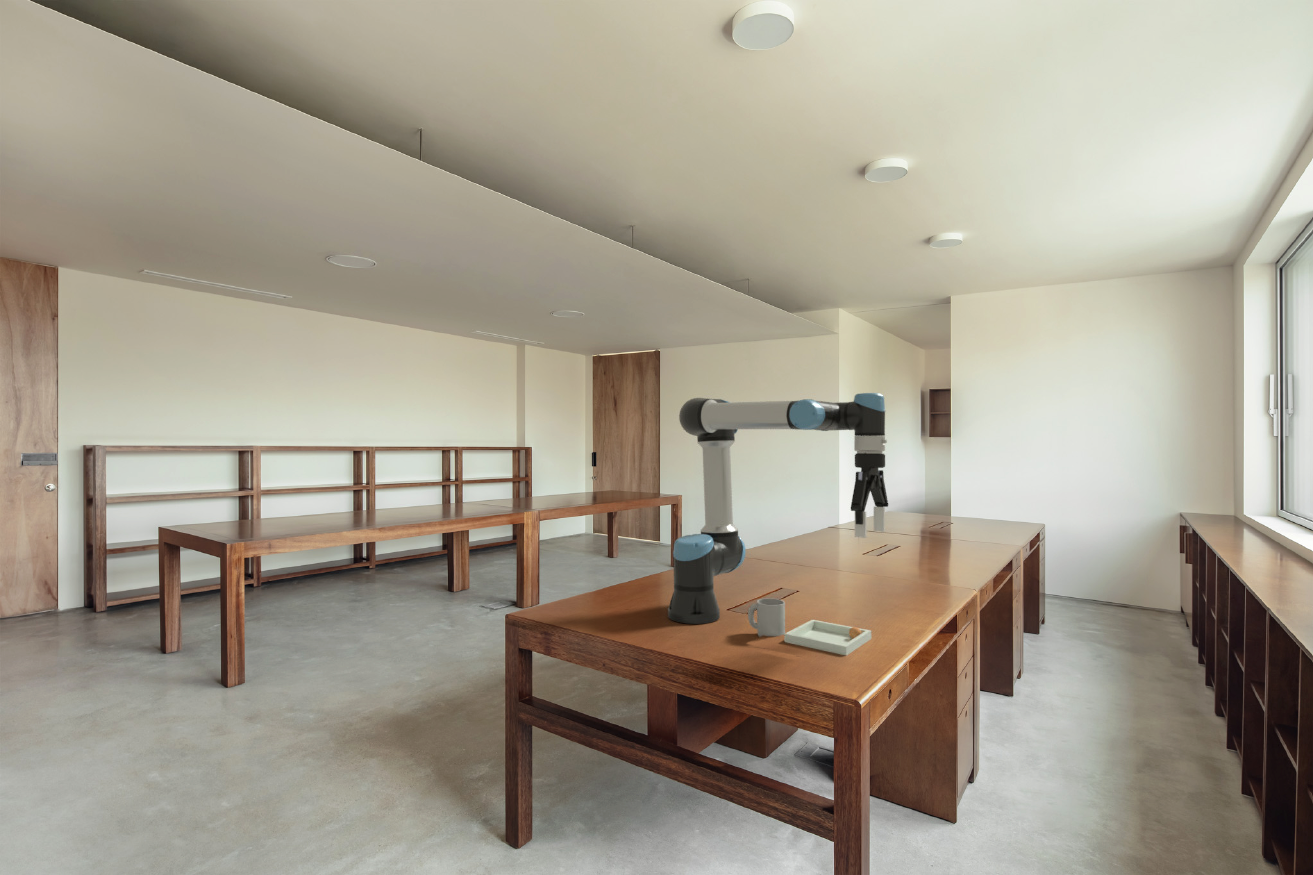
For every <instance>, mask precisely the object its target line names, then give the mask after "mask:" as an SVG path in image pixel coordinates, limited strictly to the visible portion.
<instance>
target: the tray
mask: <svg viewBox="0 0 1313 875" xmlns="http://www.w3.org/2000/svg"><path fill="white" fill-rule="evenodd" d="M852 627H853V626H849V625H843V624H839V623H832V622H826V621H822V620H817V619H811V620H809V621H807V622H805V623H802V624H800V625H799V626H797V627H795V628H793V629H791V630H789V631H787V632H785V634H784V637H783V638H784V642H785V643H786V644H792V645H796V646H801V647H805V648H809V649H814V650H819V651H825V652H829V653H833V654H837V655H840V656H841V655H842V656H849V655H850V654H851V653H852V652H854V651H855V650H857V649H858V648H860V647H861V646H863V645H864V644H866V643H867V642H869V641H870V640H872V630H870V629H865V628H860V627H858V628H859V629H860V630H861V634H860V635H859V636H857V637H855V638H854V639H852V638H851V637H850V635H849V630H850V629H851V628H852Z"/></svg>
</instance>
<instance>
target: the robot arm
mask: <svg viewBox="0 0 1313 875" xmlns="http://www.w3.org/2000/svg"><path fill="white" fill-rule="evenodd" d="M678 416H679V417H678V419H679V424H680V425H681V427H682V429H683V430H684V431H685V432H686V433H688V434H689V435H692V436H694V437H695V436H696V437H697V444H698V445H699V446H700V447H701V448H702V468H703V470H702V472H703V474H702V475H703V496H704V499H703V500H704V502H703V503H704V521H705V522H704V523H705V524H704V526H703V527H701V529H700V533H694V534H686V535H682V536H680V537H678V538H677V539H676V540H675V541H674V544H673V551H672V556H673V591H672V592H673V593H672V595H671V598H670V601H669V605H668V608H667V618H668V619H670V620H671V621H673V622H677V623H682V624H690V625H694V624H695V625H698V624H699V625H700V624H708V623H713V622H716V621H718V620H719V619H720V617H721V616H720V615H721V614H720V612H721V611H720V607H719V604H718V601H717V597H716V594H715V590H714V589H715V588H714V577H715V576H719V575H723V574H729V573H731V572H733V571H735V570H737V569H738V568H739V567H741V566H742V564H743V563H744V561H745V558H746V554H747V553H746V551H747V550H746V549H747V548H746V545H745V542H744V540H742V537H741V536H739V529H738V528H737V526H735V525H734V520H733V519H734V518H733V496H732V495H733V493H732V492H733V490H732V489H733V487H732V468H731V467H732V464H731V447H732V445H733V444H734V443H735V442H736V440H735V434H737V432H738V430H796V431H797V430H800V431H801V430H803V431H809V430H811V431H821V432H828V431H829V432H830V431H848V430H849V431H854V442H853V443H854V451H855V452H856V453H855V454H854V467H855V468H860V470H861V471H856V472H855V481H854V487H853V491H852V498H851V503H850V511H852V512H854V537H855V538H861V539H862V538H863V539H866V538H867V511H865V510H866V506H867V503H868V500H869V496H870V493H871V497H872V499H873V503H874V506H873V531H874V532H881V533H882V532H883V533H884V532H885V531H886V529H885V526H886V521H885V520H886V517H885V516H886V514H885V511H886V509H885V508H888V507H889V500H888V495H887V490H886V482H885V480H884V477H885V476H884V470H883V468H885V467H886V454H885V453H883V452H884V451H886V444H887V442H888V440H887V439H886V404H885V396H884V395H883V394H882V393H879V392H863V393H856V394H855V395H854V398H853V401H846V402H844V401H843V402H839V401H838V402H832V401H821V400H814V399H812V398H811V399H809V398H808V399H807V398H806V399H801V400H799V399H798V400H775V401H772V400H771V401H766V400H765V401H742V402H741V401H739V402H738V401H737V402H734V401H733V402H732V401H731V402H730V401H727V400H725V399H720V398H719V399H718V398H717V399H716V398H703V397H694V398H691V399H689V400H687V401H686V402H684V403H683V405H682V406H681V408H680V410H679V415H678ZM879 469H882V470H879Z"/></svg>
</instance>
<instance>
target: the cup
mask: <svg viewBox="0 0 1313 875" xmlns="http://www.w3.org/2000/svg"><path fill="white" fill-rule="evenodd" d="M755 611H756V618H757V619H756V621H757V622H756V621H755V616H754V615H755ZM747 618H748V619H747V620H748V623H749V625H750V626H751V627H752V629H756V630H757V635H758V637H759V638H760V637H762V636H765V637H766V636H767V637H780V636H781V637H782V636H783V635H784V634H785V633H786V602H785V601H784V600H782V599H778V598H760V599H757V601H756V603H753V604H751V605H750V606H749V608H748V612H747Z"/></svg>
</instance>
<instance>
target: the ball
mask: <svg viewBox="0 0 1313 875" xmlns="http://www.w3.org/2000/svg"><path fill="white" fill-rule="evenodd" d="M851 627H852V628H851V629H850V630H849V635H850V637H851V638H852V639H854V638H855V637H857V636H859V635H860V634H861V630H860V629H861V628H860V627H857V626H851ZM859 628H860V629H859Z"/></svg>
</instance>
